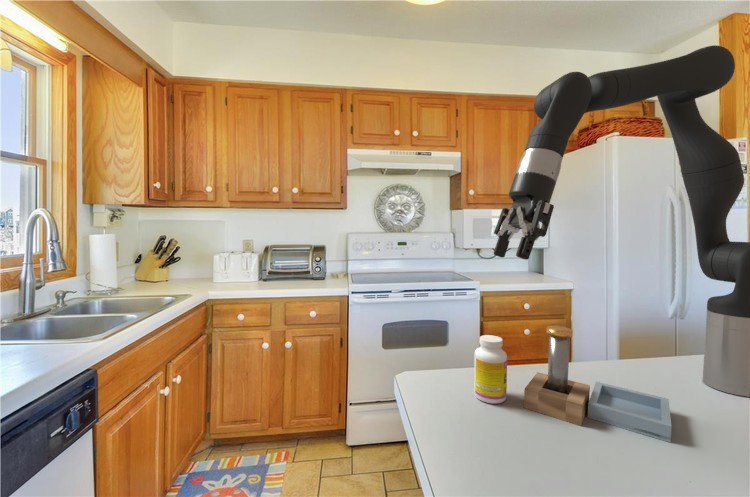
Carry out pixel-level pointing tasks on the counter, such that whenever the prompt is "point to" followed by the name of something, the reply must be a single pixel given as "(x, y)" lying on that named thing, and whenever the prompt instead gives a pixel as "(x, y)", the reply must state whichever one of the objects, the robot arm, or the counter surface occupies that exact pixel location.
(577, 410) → the socket block
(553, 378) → the pin
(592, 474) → the counter surface
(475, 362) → the supplement bottle
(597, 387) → the tray
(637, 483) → the counter surface
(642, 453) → the counter surface
